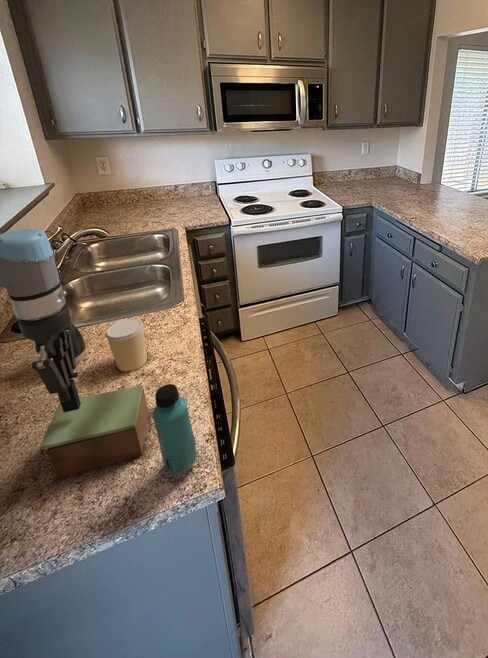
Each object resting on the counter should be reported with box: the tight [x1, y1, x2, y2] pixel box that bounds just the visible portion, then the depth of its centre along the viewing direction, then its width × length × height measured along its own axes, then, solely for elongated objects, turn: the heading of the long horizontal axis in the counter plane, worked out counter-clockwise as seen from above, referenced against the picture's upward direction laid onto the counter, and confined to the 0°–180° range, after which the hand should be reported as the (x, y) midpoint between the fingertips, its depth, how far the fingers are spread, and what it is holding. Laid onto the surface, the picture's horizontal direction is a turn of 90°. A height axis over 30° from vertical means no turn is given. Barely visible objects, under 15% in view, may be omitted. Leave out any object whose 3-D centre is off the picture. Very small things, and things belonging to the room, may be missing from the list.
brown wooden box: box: [46, 388, 150, 479], centre depth 78 cm, size 16×12×8 cm
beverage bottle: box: [152, 383, 198, 475], centre depth 71 cm, size 6×7×20 cm
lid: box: [39, 384, 144, 451], centre depth 76 cm, size 17×12×1 cm
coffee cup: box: [105, 318, 148, 372], centre depth 102 cm, size 9×9×12 cm
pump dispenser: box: [70, 321, 87, 365], centre depth 101 cm, size 10×10×15 cm
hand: (72, 408), depth 74 cm, fingers closed
